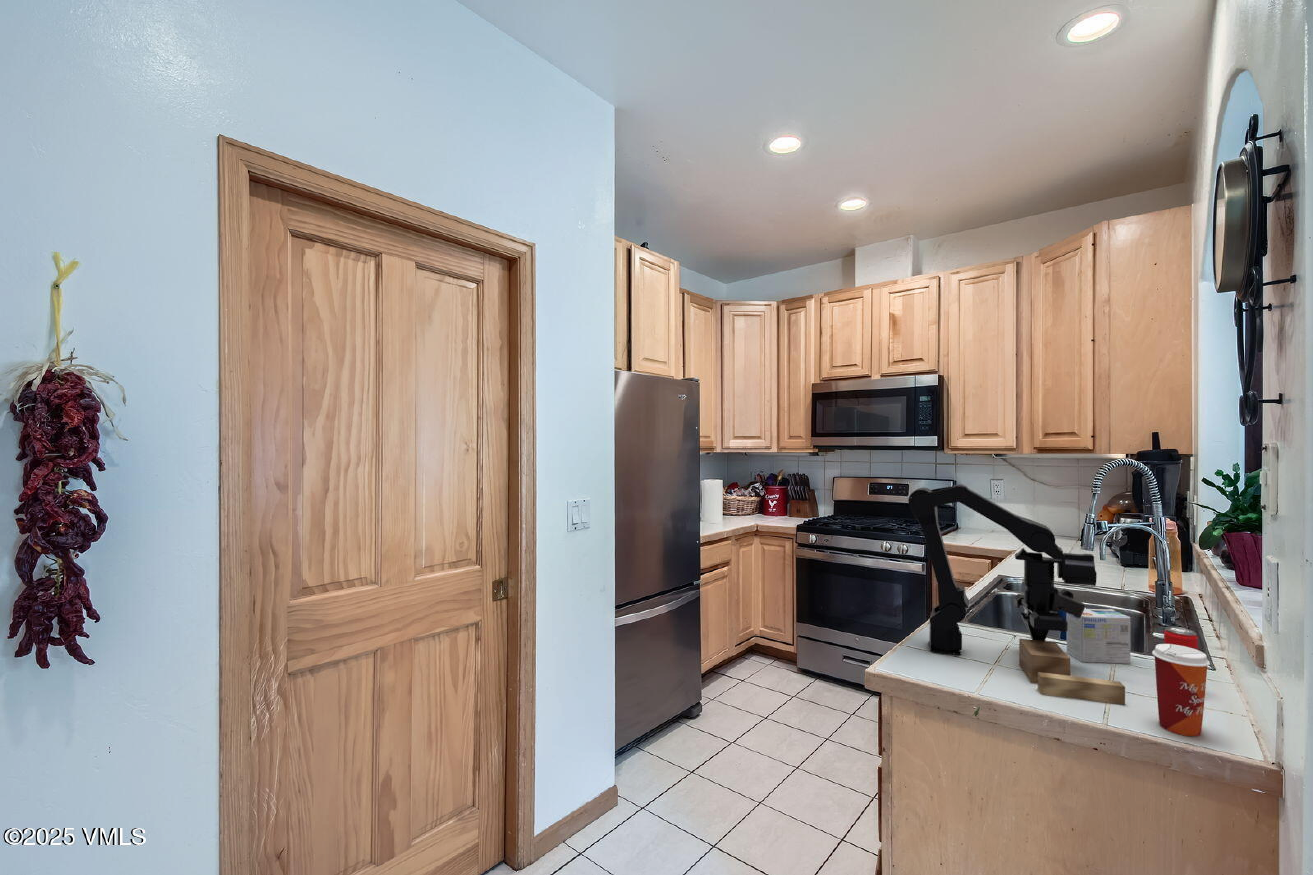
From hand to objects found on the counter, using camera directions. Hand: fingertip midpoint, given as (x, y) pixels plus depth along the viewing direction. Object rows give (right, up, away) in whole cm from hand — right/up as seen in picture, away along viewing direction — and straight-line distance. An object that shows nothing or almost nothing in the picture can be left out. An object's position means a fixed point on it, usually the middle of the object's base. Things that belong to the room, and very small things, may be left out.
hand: (1038, 649), depth 134 cm
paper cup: (+7, -4, -29) cm, 30 cm away
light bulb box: (+16, -4, +4) cm, 17 cm away
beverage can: (+21, -4, -13) cm, 25 cm away
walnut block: (-3, -4, -6) cm, 8 cm away
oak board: (-2, -4, -16) cm, 17 cm away
